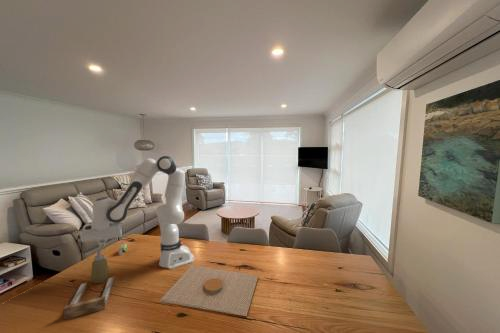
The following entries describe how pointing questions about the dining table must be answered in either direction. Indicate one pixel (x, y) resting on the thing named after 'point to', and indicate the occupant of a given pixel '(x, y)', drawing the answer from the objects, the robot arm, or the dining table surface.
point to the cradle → (87, 302)
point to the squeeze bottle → (99, 268)
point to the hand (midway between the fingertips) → (102, 246)
